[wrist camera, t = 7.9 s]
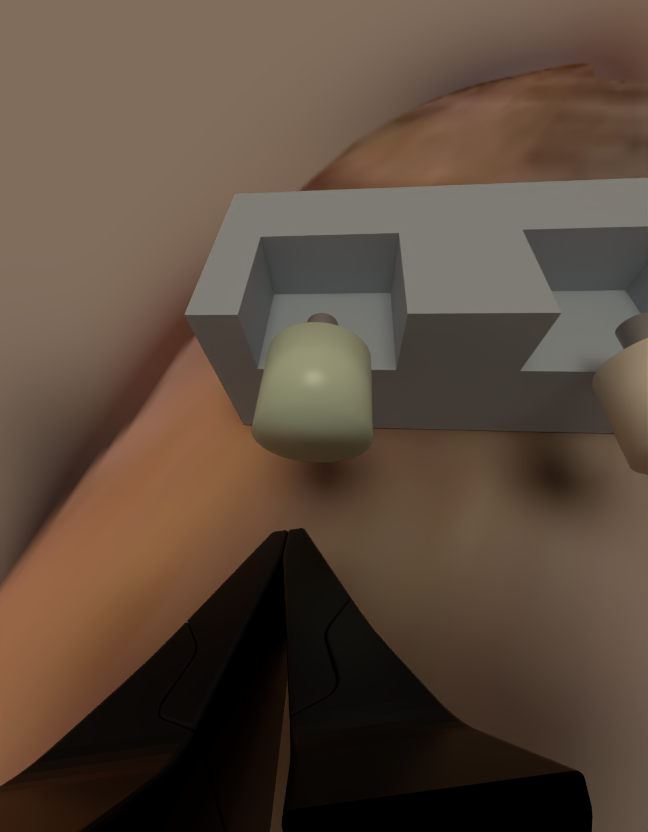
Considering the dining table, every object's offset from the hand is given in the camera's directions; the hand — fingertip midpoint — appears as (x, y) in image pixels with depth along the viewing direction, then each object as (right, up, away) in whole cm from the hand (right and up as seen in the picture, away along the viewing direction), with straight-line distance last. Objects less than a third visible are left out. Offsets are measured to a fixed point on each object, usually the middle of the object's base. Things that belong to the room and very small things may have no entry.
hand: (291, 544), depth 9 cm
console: (+12, +6, +11) cm, 18 cm away
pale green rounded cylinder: (+1, +4, +4) cm, 6 cm away
